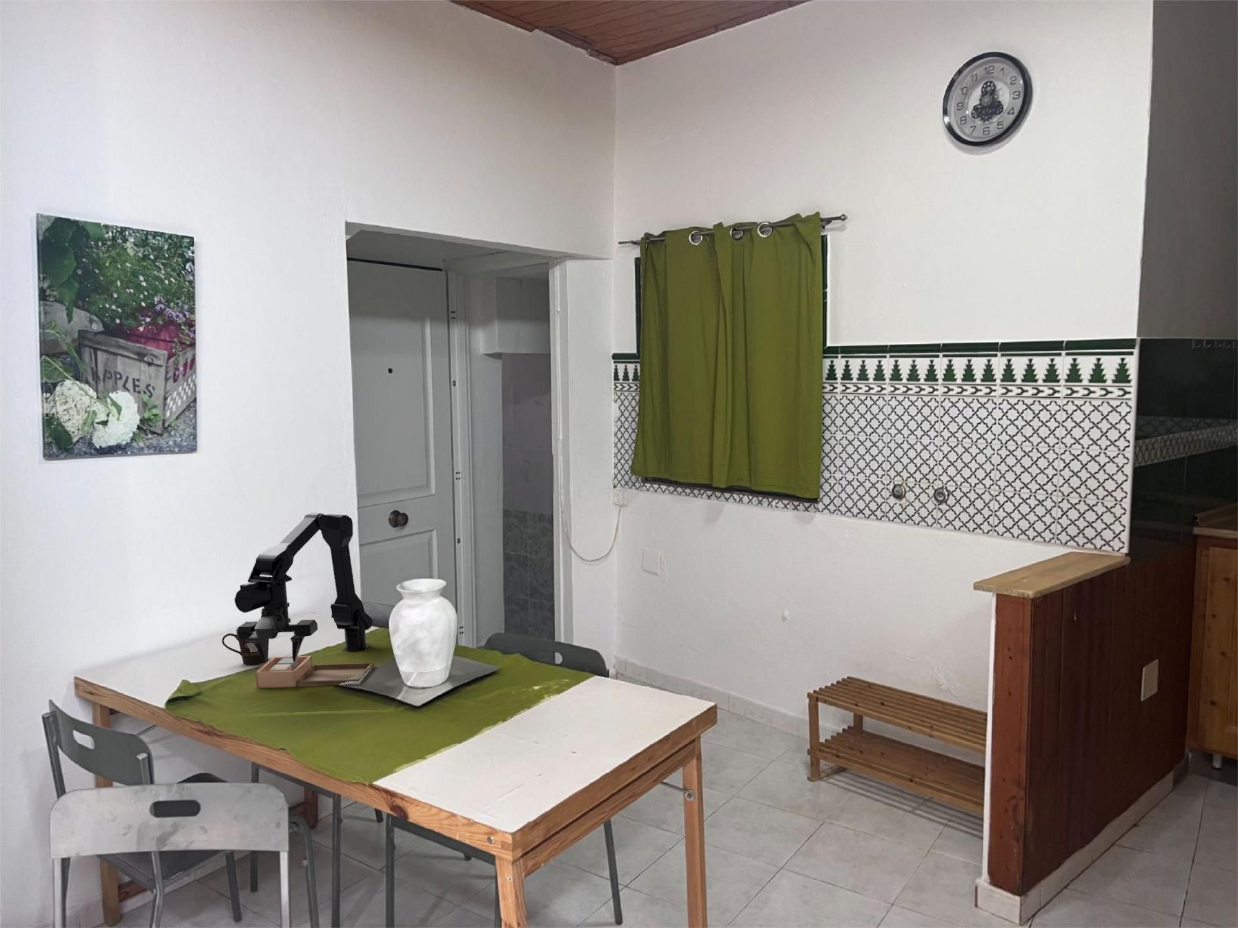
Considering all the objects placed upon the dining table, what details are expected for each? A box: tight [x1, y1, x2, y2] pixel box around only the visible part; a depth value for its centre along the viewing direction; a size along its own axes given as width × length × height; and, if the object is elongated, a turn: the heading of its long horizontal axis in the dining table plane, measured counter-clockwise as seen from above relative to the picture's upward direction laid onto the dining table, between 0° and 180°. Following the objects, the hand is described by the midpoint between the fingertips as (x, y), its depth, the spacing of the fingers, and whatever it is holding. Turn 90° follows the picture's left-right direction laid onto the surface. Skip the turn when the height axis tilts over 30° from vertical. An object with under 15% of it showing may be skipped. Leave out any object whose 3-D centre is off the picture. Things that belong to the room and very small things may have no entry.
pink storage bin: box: [255, 655, 313, 689], centre depth 231 cm, size 12×10×4 cm
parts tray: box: [296, 662, 375, 688], centre depth 232 cm, size 13×16×2 cm
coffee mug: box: [221, 624, 270, 666], centre depth 248 cm, size 12×9×10 cm
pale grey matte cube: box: [277, 658, 299, 671], centre depth 234 cm, size 4×4×4 cm
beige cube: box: [269, 664, 292, 671], centre depth 229 cm, size 4×4×4 cm
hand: (280, 661), depth 229 cm, fingers open, 7 cm apart
